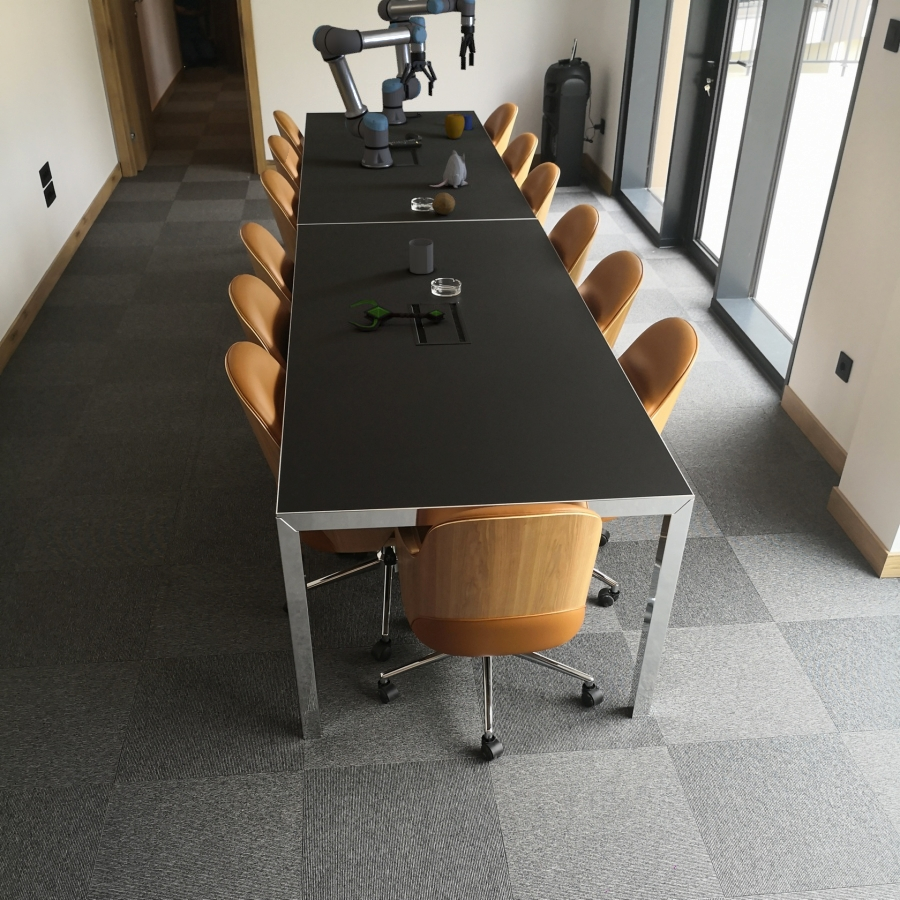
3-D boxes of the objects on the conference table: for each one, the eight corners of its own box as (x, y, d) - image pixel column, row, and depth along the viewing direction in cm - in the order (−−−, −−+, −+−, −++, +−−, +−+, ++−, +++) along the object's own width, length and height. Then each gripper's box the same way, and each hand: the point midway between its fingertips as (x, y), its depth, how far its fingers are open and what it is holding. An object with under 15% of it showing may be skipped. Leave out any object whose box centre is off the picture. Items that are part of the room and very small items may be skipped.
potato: (453, 208, 369) (453, 189, 365) (456, 218, 357) (456, 199, 353) (431, 208, 368) (430, 189, 364) (432, 218, 356) (432, 199, 352)
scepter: (445, 294, 271) (348, 292, 269) (446, 325, 264) (347, 323, 262) (443, 307, 276) (349, 305, 274) (445, 338, 269) (347, 336, 267)
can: (470, 130, 492) (470, 116, 488) (460, 129, 493) (460, 116, 489) (473, 128, 497) (473, 114, 493) (463, 127, 498) (463, 113, 494)
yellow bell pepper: (464, 140, 471) (464, 115, 464) (444, 140, 471) (444, 115, 464) (464, 135, 480) (464, 111, 473) (444, 135, 480) (444, 111, 473)
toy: (472, 184, 399) (472, 151, 391) (436, 195, 384) (436, 161, 376) (457, 180, 404) (458, 147, 396) (422, 191, 389) (421, 157, 381)
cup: (409, 265, 311) (408, 238, 306) (432, 265, 312) (431, 238, 307) (410, 274, 304) (409, 246, 299) (433, 273, 305) (433, 246, 299)
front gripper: (435, 48, 437) (436, 93, 448) (392, 52, 426) (393, 98, 437) (443, 50, 431) (443, 95, 443) (399, 54, 420) (400, 100, 432)
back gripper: (466, 28, 455) (466, 71, 467) (481, 22, 475) (480, 64, 486) (453, 27, 457) (453, 71, 469) (468, 22, 477) (468, 63, 489)
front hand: (418, 97), depth 440 cm, fingers open, 13 cm apart
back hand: (467, 67), depth 478 cm, fingers open, 13 cm apart
